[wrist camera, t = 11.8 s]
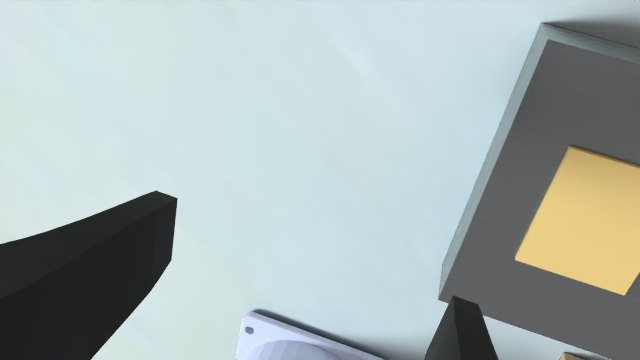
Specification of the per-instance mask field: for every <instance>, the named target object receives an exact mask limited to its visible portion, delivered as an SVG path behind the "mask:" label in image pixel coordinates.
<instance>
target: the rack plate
mask: <svg viewBox="0 0 640 360" xmlns="http://www.w3.org/2000/svg"><path fill="white" fill-rule="evenodd" d="M453 295H454V296H456V297H459V298H462V299H465V300H468V301H471V302H473V303H476V304H478V305H479V307H480V309H481V312H482V315H484V316H487V317H490V318H493V319H496V320H499V321H502V322H505V323H508V324H511V325H514V326H516V327H519V328H522V329H525V330H528V331H531V332H534V333H537V334H540V335H543V336H546V337H549V338H552V339H555V340H558V341H560V342H563V343H566V344H569V345H572V346H575V347H578V348H581V349H584V350H587V351H590V352H593V353H596V354H599V355H601V356H604V357H607V358H610V359H613V360H640V49H638V48H634V47H631V46H627V45H623V44H619V43H616V42H612V41H608V40H604V39H601V38H597V37H593V36H589V35H586V34H582V33H578V32H574V31H571V30H567V29H563V28H559V27H555V26H552V25H548V24H544V23H541V24H540V27H539V29H538V32H537V34H536V37H535V39H534V41H533V44H532V46H531V49H530V51H529V54H528V56H527V59H526V61H525V64H524V66H523V68H522V71H521V73H520V76H519V78H518V81H517V83H516V86H515V88H514V90H513V93H512V95H511V98H510V100H509V103H508V105H507V108H506V110H505V112H504V115H503V117H502V120H501V122H500V125H499V127H498V130H497V132H496V135H495V137H494V139H493V142H492V144H491V147H490V149H489V152H488V154H487V157H486V159H485V161H484V164H483V166H482V169H481V171H480V174H479V176H478V179H477V181H476V183H475V186H474V188H473V191H472V193H471V196H470V198H469V201H468V203H467V206H466V208H465V210H464V213H463V215H462V218H461V220H460V223H459V225H458V228H457V230H456V232H455V235H454V237H453V240H452V242H451V245H450V247H449V250H448V252H447V254H446V257H445V259H444V262H443V264H442V272H441V280H440V288H439V296H438V300H440V301H443V302H446V303H449V302H450V300H451V298H452V296H453Z"/></svg>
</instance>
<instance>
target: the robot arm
mask: <svg viewBox="0 0 640 360" xmlns="http://www.w3.org/2000/svg"><path fill="white" fill-rule="evenodd" d="M176 208H177V198H175V197H172V196H170V195H167V194H164V193H161V192H158V191H154V192H151V193H148V194H145V195H143V196H140V197H138V198H135V199H133V200H130V201H128V202H125V203H123V204H120V205H118V206H115V207H113V208H110V209H108V210H105V211H103V212H100V213H97V214H95V215H92V216H90V217H87V218H85V219H82V220H79V221H76V222H73V223H70V224H67V225H64V226H61V227H58V228H55V229H53V230H50V231H47V232H44V233H40V234H37V235H34V236H30V237H26V238H23V239H19V240H15V241H11V242H7V243H3V244H0V360H91V359H92V358H93V356H94V355H95V354H96V353H97V352H98V351H99V350H100V348H101V347H102V346H103V345H104V344H105V343H106V342H107V340H108V339H109V338H110V337H111V336H112V335H113V334H114V333H115V331H116V330H117V329H118V328H119V327H120V326H121V325H122V324H123V322H124V321H125V320H126V319H127V318H128V317H129V316H130V314H131V313H132V312H133V311H134V310H135V309H136V308H137V306H138V305H139V304H140V303H141V302H142V301H143V300H144V298H145V297H146V296H147V295H148V294H149V293H150V291H151V290H152V288H153V287H154V286H155V284H156V283H157V281H158V280H159V278H160V277H161V275H162V274H163V272H164V271H165V269H166V267H167V266H168V264H169V263H170V261H171V258H172V248H173V238H174V228H175V218H176ZM249 327H251V328H253V329H251V328H249ZM235 360H384V359H382V358H379V357H377V356H374V355H371V354H368V353H365V352H363V351H360V350H357V349H354V348H352V347H349V346H346V345H343V344H340V343H338V342H335V341H332V340H329V339H327V338H324V337H321V336H318V335H316V334H313V333H310V332H307V331H304V330H302V329H299V328H296V327H293V326H291V325H288V324H285V323H282V322H280V321H277V320H274V319H271V318H268V317H266V316H263V315H260V314H257V313H254V312H248V313H246V314H245V316H244V318H243V320H242V325H241V330H240V336H239V342H238V347H237V353H236V358H235ZM425 360H498V357H497V355H496V352H495V349H494V347H493V344H492V341H491V339H490V336H489V333H488V330H487V327H486V324H485V321H484V318H483V315H482V312H481V309H480V307H479V305H478V304H476V303H473V302H471V301H468V300H465V299H462V298H459V297H456V296H454V295H453V296H452V298H451V300H450V302H449V305H448V307H447V309H446V311H445V313H444V315H443V318H442V320H441V322H440V324H439V326H438V328H437V331H436V333H435V335H434V337H433V339H432V341H431V344H430V346H429V348H428V350H427V352H426V355H425Z"/></svg>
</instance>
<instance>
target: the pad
mask: <svg viewBox="0 0 640 360" xmlns="http://www.w3.org/2000/svg"><path fill="white" fill-rule="evenodd" d="M560 360H585V359H582V358H579V357H576V356H573V355H570V354H567V353H565V352H564V353H563V355H562V357H561V358H560Z"/></svg>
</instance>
